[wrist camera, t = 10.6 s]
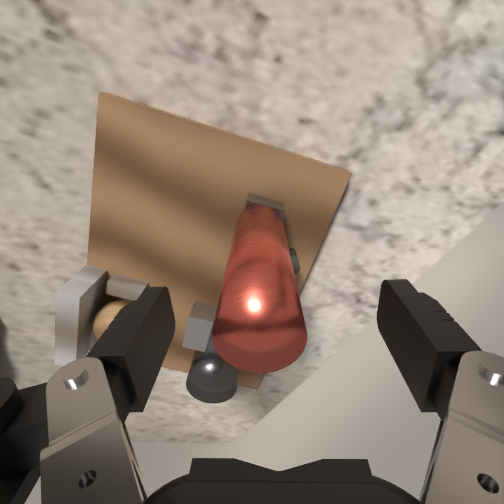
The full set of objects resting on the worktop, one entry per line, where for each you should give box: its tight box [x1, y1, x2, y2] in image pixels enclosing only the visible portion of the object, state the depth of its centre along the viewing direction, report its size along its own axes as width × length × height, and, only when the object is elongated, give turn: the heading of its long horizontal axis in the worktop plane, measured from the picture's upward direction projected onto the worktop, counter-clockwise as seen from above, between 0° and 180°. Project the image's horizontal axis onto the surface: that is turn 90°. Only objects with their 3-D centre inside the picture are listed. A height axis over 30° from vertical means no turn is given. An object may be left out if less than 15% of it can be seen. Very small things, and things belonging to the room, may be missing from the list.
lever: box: [182, 193, 307, 403], centre depth 18 cm, size 17×5×12 cm, turn 164°
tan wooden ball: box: [93, 301, 128, 339], centre depth 24 cm, size 4×4×4 cm
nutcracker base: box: [55, 92, 352, 389], centre depth 22 cm, size 22×17×5 cm
